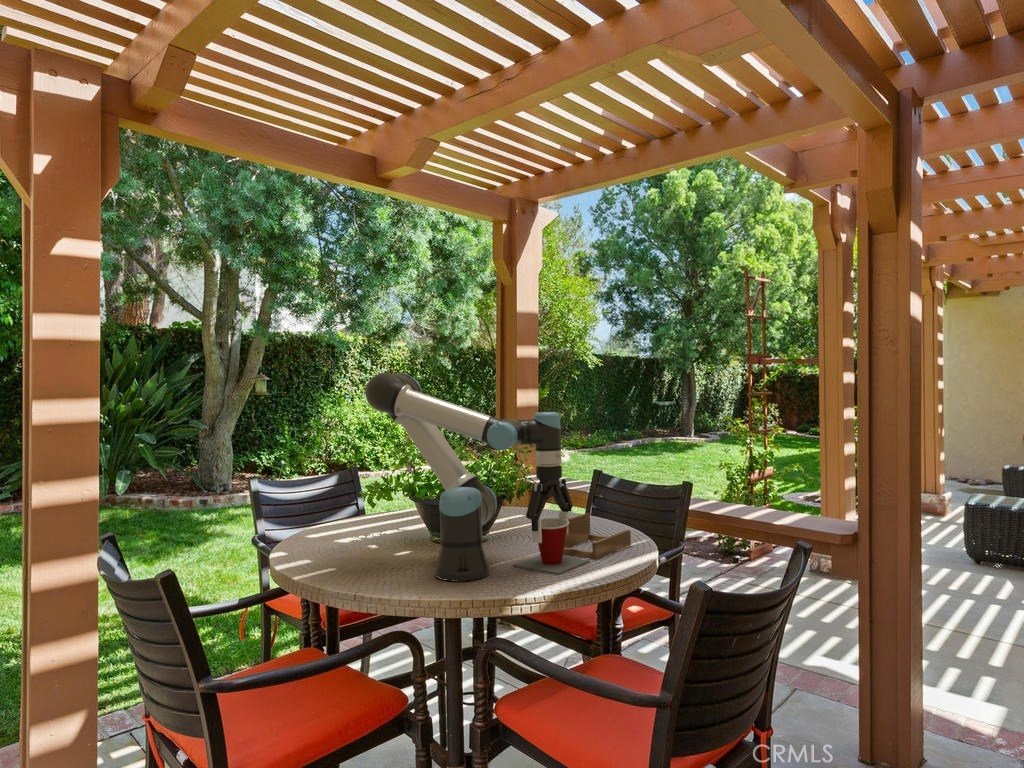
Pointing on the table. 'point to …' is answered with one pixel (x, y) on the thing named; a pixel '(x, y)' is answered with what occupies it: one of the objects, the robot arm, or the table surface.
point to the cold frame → (592, 539)
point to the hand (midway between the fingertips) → (551, 538)
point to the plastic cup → (552, 540)
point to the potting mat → (557, 569)
